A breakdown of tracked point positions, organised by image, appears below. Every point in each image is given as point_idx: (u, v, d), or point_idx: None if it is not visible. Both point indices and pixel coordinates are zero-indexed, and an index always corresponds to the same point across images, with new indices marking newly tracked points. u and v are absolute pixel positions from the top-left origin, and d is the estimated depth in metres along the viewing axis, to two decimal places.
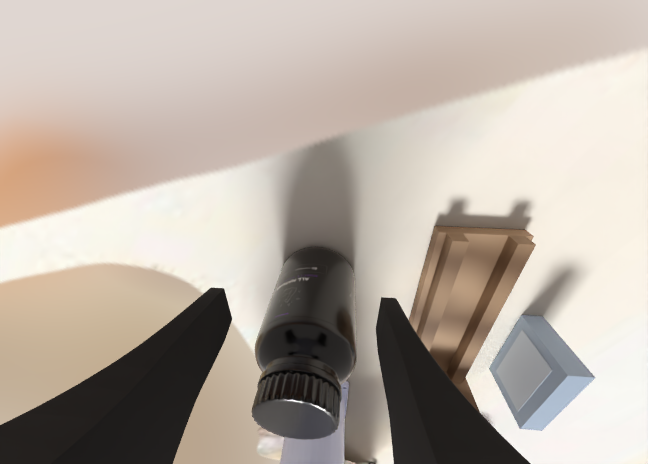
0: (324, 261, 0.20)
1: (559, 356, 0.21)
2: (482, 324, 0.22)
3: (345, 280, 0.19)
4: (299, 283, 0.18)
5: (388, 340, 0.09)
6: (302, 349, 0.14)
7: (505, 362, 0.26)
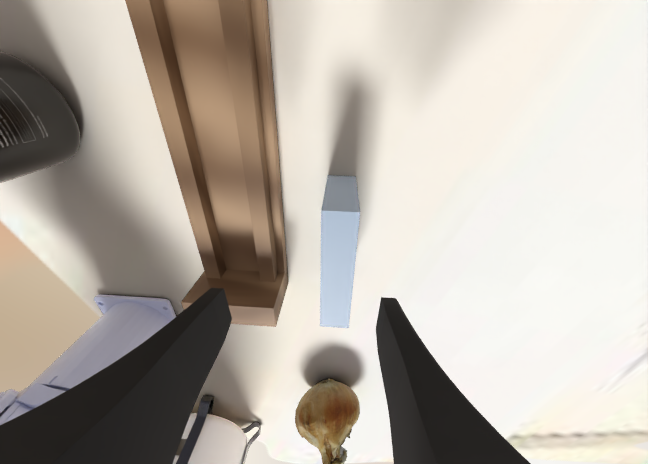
0: None
1: (332, 198, 0.14)
2: (248, 169, 0.16)
3: None
4: None
5: (388, 340, 0.09)
6: None
7: None
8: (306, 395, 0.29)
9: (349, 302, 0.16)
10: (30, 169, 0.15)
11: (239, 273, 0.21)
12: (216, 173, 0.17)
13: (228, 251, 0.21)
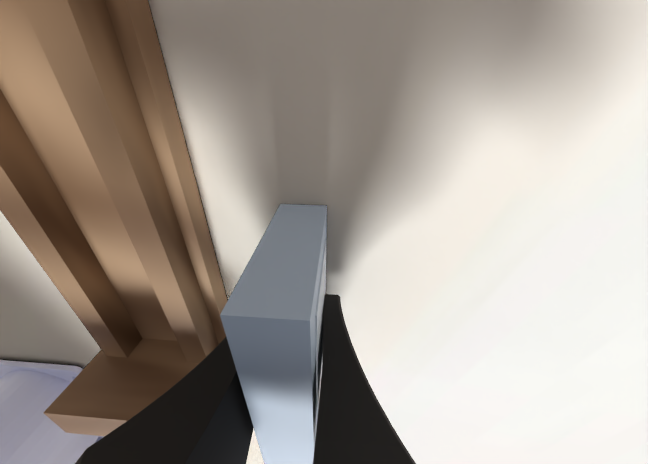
0: None
1: (264, 269, 0.07)
2: (120, 200, 0.09)
3: None
4: None
5: None
6: None
7: None
8: None
9: (310, 446, 0.09)
10: None
11: (159, 346, 0.14)
12: (86, 203, 0.10)
13: (139, 315, 0.14)
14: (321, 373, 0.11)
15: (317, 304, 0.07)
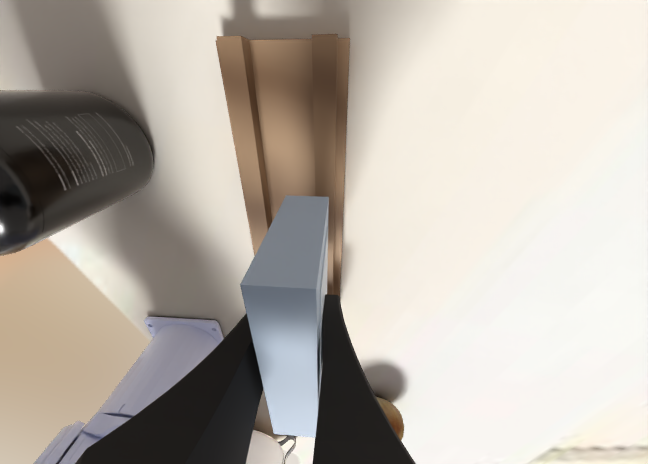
0: (51, 90, 0.13)
1: (274, 249, 0.08)
2: None
3: (76, 107, 0.13)
4: None
5: None
6: None
7: None
8: None
9: (315, 410, 0.10)
10: (116, 199, 0.15)
11: None
12: None
13: None
14: None
15: (321, 280, 0.08)
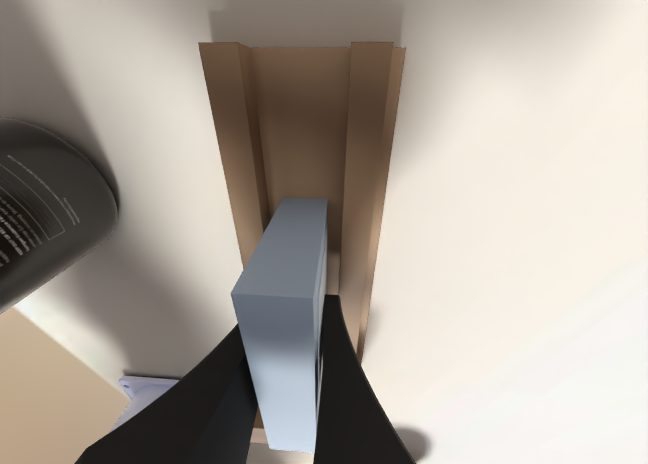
0: None
1: (269, 255, 0.07)
2: (346, 272, 0.12)
3: None
4: None
5: None
6: None
7: None
8: None
9: (312, 425, 0.09)
10: (60, 270, 0.11)
11: None
12: None
13: None
14: (322, 359, 0.12)
15: (319, 288, 0.08)
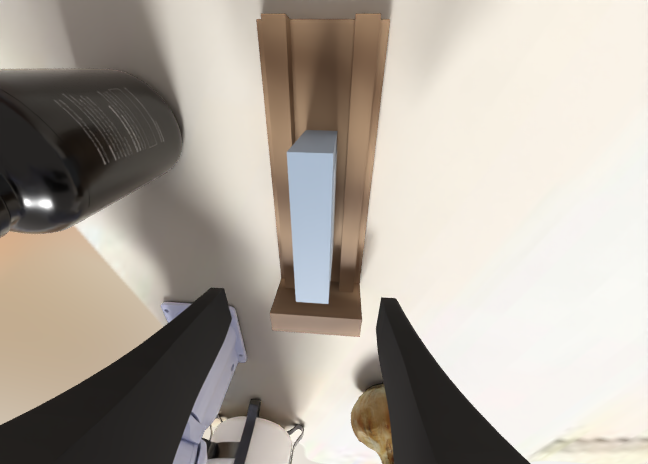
0: (80, 68, 0.14)
1: (304, 144, 0.12)
2: (349, 185, 0.16)
3: (105, 82, 0.13)
4: None
5: (388, 340, 0.09)
6: None
7: None
8: (362, 400, 0.29)
9: (327, 272, 0.14)
10: (150, 177, 0.16)
11: None
12: None
13: None
14: (332, 247, 0.16)
15: (334, 167, 0.12)
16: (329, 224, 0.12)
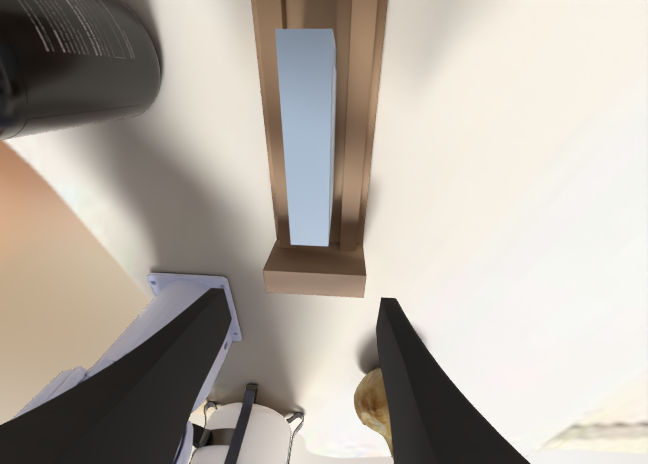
0: None
1: None
2: (351, 115, 0.14)
3: None
4: None
5: (388, 340, 0.09)
6: None
7: None
8: (366, 380, 0.27)
9: (326, 202, 0.12)
10: (120, 102, 0.14)
11: None
12: None
13: None
14: (332, 186, 0.14)
15: (333, 66, 0.10)
16: (328, 135, 0.10)
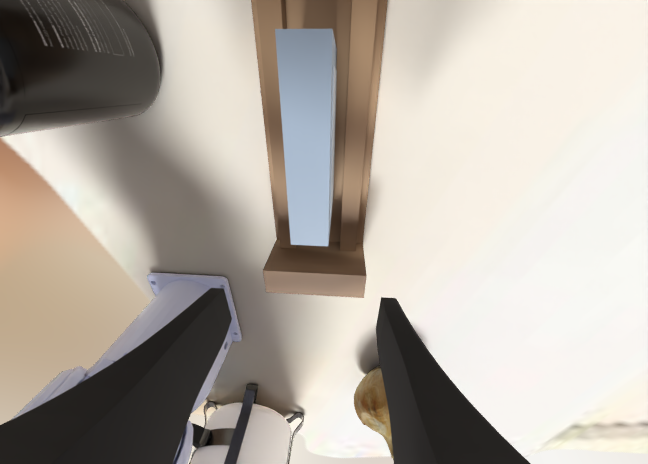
0: None
1: None
2: (351, 115, 0.14)
3: None
4: None
5: (388, 340, 0.09)
6: None
7: None
8: (366, 380, 0.27)
9: (326, 202, 0.12)
10: (120, 100, 0.13)
11: None
12: None
13: None
14: (332, 186, 0.14)
15: (333, 66, 0.10)
16: (328, 135, 0.10)
